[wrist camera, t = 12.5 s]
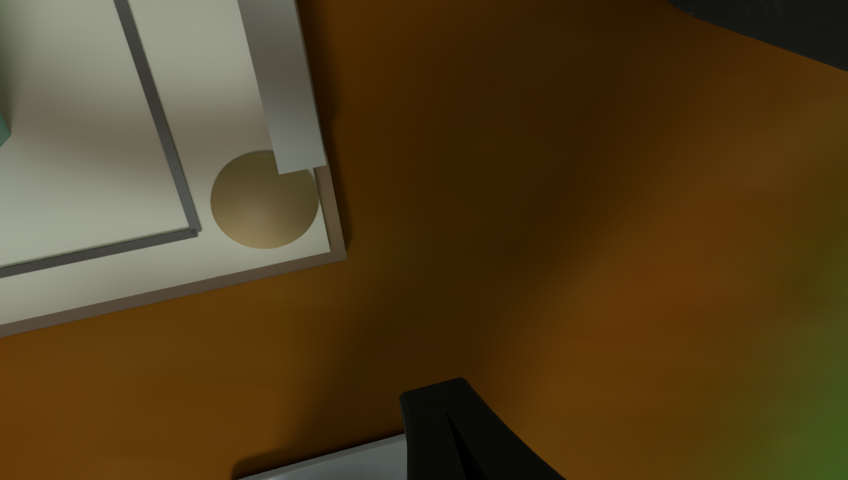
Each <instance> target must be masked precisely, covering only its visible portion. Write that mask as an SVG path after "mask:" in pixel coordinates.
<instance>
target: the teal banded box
mask: <svg viewBox="0 0 848 480" xmlns="http://www.w3.org/2000/svg"><path fill="white" fill-rule="evenodd" d="M10 136H11V134H10V132H9V130H8V128H7V126H6V124H5V121H4V119H3V117H2V115H1V113H0V147H1V146H2V145H3V144H4V143H5V142H6V140H7V139H8V138H9V137H10Z"/></svg>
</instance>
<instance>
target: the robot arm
mask: <svg viewBox="0 0 848 480" xmlns="http://www.w3.org/2000/svg"><path fill="white" fill-rule="evenodd" d="M399 401H400V407H401V413H402V419H403V424H404V430H405V434H401V435H397V436H394V437H390V438H387V439H383V440H379V441H376V442H372V443H368V444H365V445H361V446H358V447H354V448H350V449H347V450H343V451H339V452H336V453H332V454H328V455H325V456H321V457H318V458H314V459H310V460H307V461H303V462H299V463H296V464H292V465H289V466H285V467H281V468H278V469H274V470H270V471H267V472H263V473H259V474H256V475H252V476H249V477H245V478H241V479H238V480H566V479H565V478H563V477H562V476H561V475H560V474H559V473H558V472H556V471H555V470H554V469H553V468H552V467H550V466H549V465H548V464H547V463H546V462H545V461H544V460H542V459H541V458H540V457H539V456H538V455H537V454H536V453H535V452H533V451H532V450H531V449H530V448H529V447H528V446H527V445H526V444H525V443H524V442H523V441H522V440H521V439H520V438H519V437H518V436H517V435H516V434H515V433H514V432H512V431H511V430H510V429H509V428H508V427H507V426H506V425H505V423H504V422H503V421H502V420H501V419H500V418H499V417H498V416H497V415H496V414H495V413H494V412H493V411H492V410H491V409H490V408H489V407H488V405H487V404H486V403H485V402H484V401H483V400H482V399H481V398H480V396H479V395H478V394H477V393H476V392H475V390H474V389H473V388H472V387H471V386H470V384H469V383H468V382H467V380H465V379H463V378H462V377H460V378H456V379H452V380H448V381H445V382H441V383H437V384H433V385H429V386H426V387H422V388H418V389H414V390H410V391H407V392H404V393H403V394H402V395H401V396H400V397H399Z"/></svg>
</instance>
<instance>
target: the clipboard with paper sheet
mask: <svg viewBox="0 0 848 480" xmlns="http://www.w3.org/2000/svg"><path fill="white" fill-rule="evenodd" d="M0 113H1V115H2V117H3V119H4V121H5V124H6V126H7V128H8V130H9V132H10V134H11V136H10V137H9V138H8V139H7V140H6V142H5V143H4V144H3V145H2V146H1V147H0V337H4V336H8V335H13V334H17V333H22V332H26V331H31V330H35V329H40V328H44V327H48V326H53V325H57V324H62V323H66V322H71V321H75V320H80V319H84V318H88V317H93V316H97V315H102V314H106V313H111V312H115V311H120V310H124V309H128V308H133V307H137V306H142V305H146V304H151V303H155V302H160V301H164V300H169V299H173V298H177V297H182V296H186V295H191V294H195V293H200V292H204V291H209V290H213V289H217V288H222V287H226V286H231V285H235V284H240V283H244V282H249V281H253V280H257V279H262V278H266V277H271V276H275V275H280V274H284V273H289V272H293V271H297V270H302V269H306V268H311V267H315V266H320V265H324V264H329V263H333V262H337V261H342V260H346V259H347V255H346V250H345V245H344V240H343V235H342V230H341V224H340V219H339V214H338V209H337V204H336V199H335V194H334V189H333V183H332V178H331V173H330V168H329V163H328V158H327V153H326V148H325V143H324V137H323V132H322V127H321V122H320V117H319V112H318V107H317V102H316V97H315V91H314V86H313V81H312V76H311V71H310V66H309V61H308V56H307V51H306V45H305V40H304V35H303V30H302V25H301V20H300V15H299V10H298V4H297V0H0Z"/></svg>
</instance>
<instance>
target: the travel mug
mask: <svg viewBox="0 0 848 480" xmlns="http://www.w3.org/2000/svg"><path fill="white" fill-rule="evenodd" d="M668 1H669V2H670V3H671V4H673V5H674V6H675V7H677V8H678V9H680V10H682V11H684V12H686V13H688V14H690V15H692V16H694V17H696V18H699V19H702V20H704V21H707V22H710V23H712V24H715V25H718V26H720V27H723V28H726V29H729V30H732V31H734V32H737V33H740V34H743V35H746V36H749V37H751V38H754V39H757V40H760V41H763V42H765V43H768V44H771V45H774V46H777V47H780V48H782V49H785V50H788V51H791V52H794V53H797V54H799V55H802V56H805V57H808V58H811V59H814V60H816V61H819V62H822V63H825V64H828V65H831V66H833V67H836V68H839V69H842V70H845V71H848V0H668Z"/></svg>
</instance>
